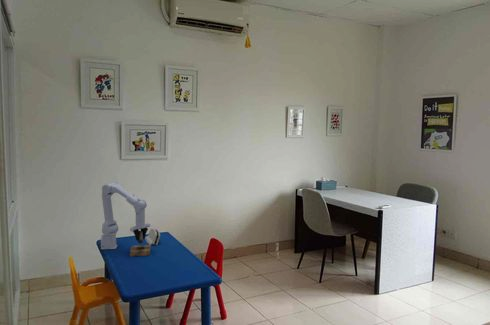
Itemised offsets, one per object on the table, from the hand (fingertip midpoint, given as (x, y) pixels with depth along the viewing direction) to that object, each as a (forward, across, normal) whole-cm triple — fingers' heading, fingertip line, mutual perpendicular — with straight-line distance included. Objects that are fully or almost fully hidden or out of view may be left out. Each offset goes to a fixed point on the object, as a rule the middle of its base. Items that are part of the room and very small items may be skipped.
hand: (140, 239), depth 244 cm
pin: (+2, 0, 0) cm, 2 cm away
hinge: (+9, +21, +12) cm, 25 cm away
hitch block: (+9, 0, 0) cm, 9 cm away
